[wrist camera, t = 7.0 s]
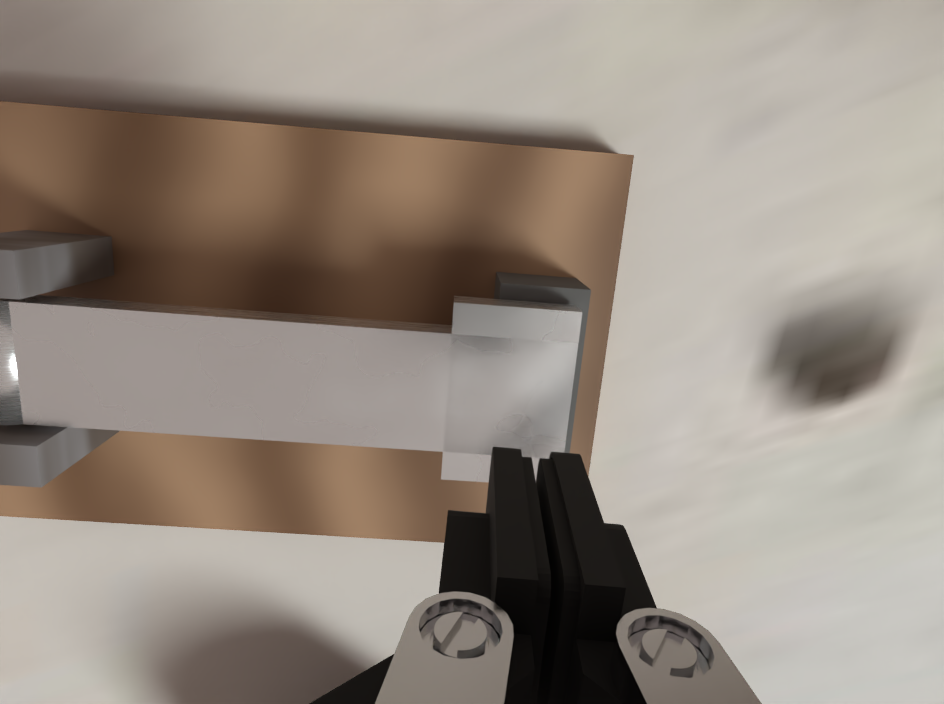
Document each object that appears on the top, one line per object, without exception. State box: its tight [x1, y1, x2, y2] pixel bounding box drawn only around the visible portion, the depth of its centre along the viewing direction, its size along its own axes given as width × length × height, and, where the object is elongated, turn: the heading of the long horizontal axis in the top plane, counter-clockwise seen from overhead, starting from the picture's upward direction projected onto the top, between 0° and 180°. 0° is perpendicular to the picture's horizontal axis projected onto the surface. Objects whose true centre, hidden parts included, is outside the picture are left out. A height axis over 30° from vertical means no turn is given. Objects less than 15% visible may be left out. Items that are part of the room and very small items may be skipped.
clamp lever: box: [0, 295, 582, 482], centre depth 20 cm, size 19×6×2 cm, turn 85°
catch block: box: [494, 272, 591, 453], centre depth 22 cm, size 3×7×3 cm, turn 176°
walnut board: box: [0, 101, 634, 543], centre depth 22 cm, size 24×16×6 cm, turn 85°
